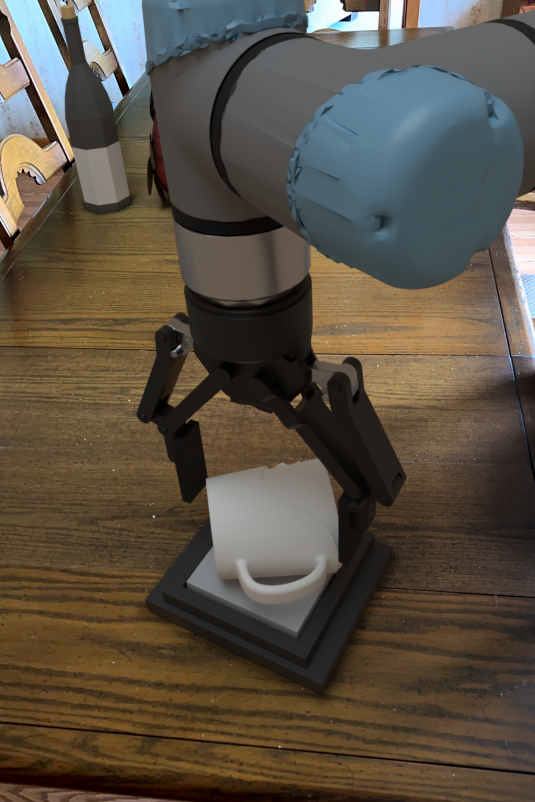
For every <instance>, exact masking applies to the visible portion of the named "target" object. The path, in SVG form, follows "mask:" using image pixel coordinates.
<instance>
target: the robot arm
mask: <svg viewBox="0 0 535 802" xmlns="http://www.w3.org/2000/svg"><path fill="white" fill-rule="evenodd" d="M305 3H306V2H305V0H141V11H142V23H143V31H144V41H145V42H144V43H145V52H146V53H145V54H146V61H145V65H144V67H145V73H146V75H147V76H148V77H149V82H150V90H151V89H152V95H153V100H154V106H155V112H156V118H157V124H158V130H159V136H160V142H161V148H162V154H163V160H164V166H165V172H166V178H167V184H168V190H169V195H168V196H169V202H170V208H171V217H172V226H173V233H174V238H175V239H174V240H175V245H176V252H177V259H178V267H179V274H180V277H181V280H182V282H183V284H184V287H183V293H184V301H185V307H186V313H187V314H186V313H184V312H181V311H180V312H177V313H176V314H174V316H172V317H171V318H170V319H169V320H168V321H166V323H164V324H162V326H161V327H160V328H158V329H157V330H156V331H155V333H154V342H155V343H154V344H155V353H156V355H155V359H154V361H153V365H152V368H151V370H150V373H149V375H148V379H147V382H146V384H145V387H144V391H143V392H142V396H141V399H140V401H139V404H138V407H137V410H136V413H135V415H136V418H137V420H138V421H140V422H141V423H143V424H146V425H148V424H149V423H153V424H154V425H156V429H157V431H158V433H159V434H160V435H162V436H163V441H164V445H165V450H166V454H167V458H168V459H169V461H170V462H171V463H173V464H174V466H175V472H176V474H177V475H176V476H177V480H178V485H179V490H180V495H181V500H182V502H184V503H187V504H189V505H191V504H192V502H193V501H194V500H195V499H196V498H197V496H198V495H199V494H200V493H201V492H202V490H203V489H204V488H205V487H206V478H209V475H208V470H207V469H208V468H207V463H206V456H205V451H204V443H203V438H202V432H201V427H200V421H198V420H195V419H191V417H193V416H194V415H195V414H196V413H197V412H198V411H199V410H200V409H202V407H203V406H204V405H205V404H208V403H209V401H211V400H212V399H213V398H214V397H215V396H216V395H218V393H219V392H220V391H221V392H222V393H223V394H224V395H226V396H227V397H229V399H230V402H231V403H234V404H238V405H242V406H251V407H252V408H255V409H257V410H259V411H261V412H263V413H267V414H270V415H273V414H274V415H275V416H276V417H277V419H278V420H279V421H280V422H281V424H282V425H283V427H284V428H286V430H289V431H290V430H294V431H295V432H296V433H297V434H298V436H299V437H300V438H301V439H302V440H303V442H304V443H305V444H306V445H307V447H308V448H309V449H310V450H311V452H312V453H313V454H314V455H315V456H316V459H317V458H318V459H319V460H320V461H321V463H322V464H323V465H324V466H325V468H326V470H327V472H328V474H330V475H331V477H332V478H333V479H334V480H335V482H336V483H337V484H338V485H339V487H340V488H341V490H343V492H342V493H341V495H340V497H339V498H338V501H337V513H338V562H340V563H342V564H345V565H347V566H348V565H349V563H350V561H351V559H352V557H353V556H354V554H355V552H356V550H357V549H358V547H359V545H360V543H361V542H362V540H363V532H364V533H365V532H368V530H369V528H370V527H371V525H372V523H373V521H374V520H375V518H376V516H377V503H378V504H379V505H380V506H383V507H387V508H388V507H392V505H393V504H395V503H394V502H395V501H396V500H397V498H398V495H399V493H400V492H401V490H402V488H403V487H404V484H405V483H406V481H407V474H406V471H405V470H404V468H403V466H402V464H401V461H400V460H399V457H398V455H397V453H396V452H395V450H394V447H393V445H392V443H391V441H390V439H389V436H388V434H387V432H386V431H385V428H384V426H383V424H382V423H381V420H380V418H379V416H378V414H377V412H376V410H375V407H374V406H373V404H372V402H371V399H370V397H369V395H368V393H367V391H366V389H365V382H364V371H363V364H362V362H361V361H360V359H358V358H356V357H355V356H347V357H345V358H344V359H343V361H342V363H341V364H340V363H336V362H328V361H323V360H319V359H318V357H317V355H316V353H315V351H314V349H313V346H312V336H313V329H314V310H313V309H314V307H313V279H312V276H311V274H310V269H311V266H312V253H311V252H312V251H311V250H312V249H311V246H312V247H314V248H315V249H316V252H318V253H320V255H323V256H325V258H326V259H327V260H328V259H329V260H331V261H332V262H334V263H336V264H343V265H344V266H347V267H349V268H350V269H355V270H358V271H359V272H362V273H364V275H365V274H366V275H367V276H369V277H371V278H372V279H376V281H378V282H381V283H383V284H385V285H386V286H389V287H392V288H395V289H401V290H410V291H411V290H412V291H413V290H415V291H416V290H423V289H430V288H434V287H438V286H441V285H443V284H446V283H448V282H450V281H451V280H454V279H456V278H457V277H458V276H460V275H462V274H463V273H464V272H465V271H466V270H467V268H468V266H469V264H470V262H471V260H472V258H473V257H474V256H475V255H476V254H477V253H480V252H486V251H487V250H489V249H490V247H491V246H493V244H494V242H495V241H496V240H497V239H498V237H499V236H500V234H501V232H502V231H503V230H504V227H505V226H506V223H507V222H508V220H509V219H510V216H511V214H512V212H513V210H514V207H515V205H516V201H517V199H518V198H521V197H523V196H525V195H528V194H530V193H532V192H534V191H535V9H532V10H528V11H525V12H521V13H517V14H513V15H509V16H505V17H501V18H495V19H492V20H491V19H490V20H487V21H484V22H483V21H482V22H480V23H476V24H472V25H468V26H464V27H463V26H462V27H460V28H456V29H452V30H451V29H450V30H447V31H443V32H439V33H438V32H437V33H434V34H430V35H427V36H422V37H417V38H415V39H411V40H407V41H406V40H405V41H403V42H398V43H394V44H391V45H385V46H381V47H376V48H354V47H349V46H344V45H340V44H336V43H332V42H327V41H325V40H322V39H319V38H316V37H314V36H312V35H311V34H310V35H309V34H308V33H307V30H308V28H309V15H308V14H307V12H306V4H305ZM192 350H193V353H194V355H195V357H196V359H197V360H198V361H199V362H200V363H201V365H202V366H203V368H204V369H205V370H206V372H207V373H208V375H207V376H205V378H204V379H203V380H202V381H200V383H198V384H197V385H196V386H195V387H194V388H193V389H192V390H191V391H190V392H189V393H188V394H187V395H186V396H185V397H184V398H183V399H182V400H180V401H179V403H178V404H177V405H176V406H173V405H171V404H170V403H169V402H170V400H171V397H172V395H173V392H174V390H175V387H176V385H177V382H178V380H179V378H180V374H181V372H182V370H183V367H184V365H185V362H186V360H187V357H188V355H189V353H190V352H191V351H192ZM299 395H301V400H300V401H299V402H298V404H297V405H296V406H295V407H294V406H293V405H292V402H293V401H294V400H295V399H296V398H297V397H298V396H299ZM326 403H329V406H328V405H327V404H326ZM329 407H330V408H329Z"/></svg>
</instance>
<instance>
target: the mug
mask: <svg viewBox="0 0 535 802" xmlns="http://www.w3.org/2000/svg"><path fill="white" fill-rule="evenodd" d="M205 487H206V495H207V496H206V497H207V504H208V505H207V506H208V513H209V517H210V523H211V531H212V539H213V547H214V555H215V562H216V569H217V575H218V579H219V580H225V579H239V581H240V584H241V586H242V589H243V591H244V592H245V594H246V595H247V596H248V597H249V598H250V599H252V600H253V601H255V602H258V603H261V604H267V605H278V604H286V603H290V602H294V601H297V600H300V599H302V598H305V597H307V596H309V595H310V594H312V593H314V592H315V591H316V590H318V589H319V588H320V587H321V586H322V584H323V583H324V581H325V579H326V576H327V573H336V572H337V571H338V569H340V568H341V566H342V563H340V562H338V507H337V504H336V498H335V495H334V491H333V487H332V483H331V480H330V476H329V472H328V470H327V469H326V468H325V466H324V465H323V464H322V463H321V461H320V460H319V459H318V458H317V457H316V458H314V459H309V460H304V461H299V460H297V461H296V462H295V463H290V464H287V463H284V461H283V462H282V461H281V463H278V464H276V465H275V466H274V467H271V468H269V466H267V465H261V466H258V467H253V468H248V469H244V470H239V471H235V472H229V473H225V474H219V475H215V476H211V477H208V478H206V485H205ZM293 575H308V576H306V577H304V578H302V579H300V580H297V581H295V582H292V583H288V584H283V585H275V586H269V585H262V584H259V583H257V582H255V581H254V580H253V579H252V578H259V577H276V576H293Z"/></svg>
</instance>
